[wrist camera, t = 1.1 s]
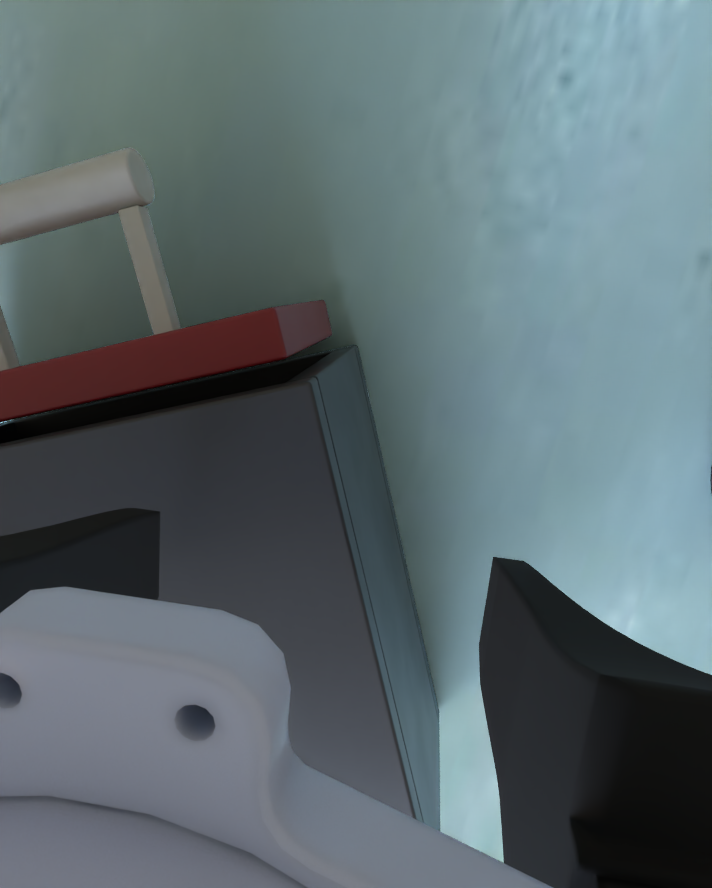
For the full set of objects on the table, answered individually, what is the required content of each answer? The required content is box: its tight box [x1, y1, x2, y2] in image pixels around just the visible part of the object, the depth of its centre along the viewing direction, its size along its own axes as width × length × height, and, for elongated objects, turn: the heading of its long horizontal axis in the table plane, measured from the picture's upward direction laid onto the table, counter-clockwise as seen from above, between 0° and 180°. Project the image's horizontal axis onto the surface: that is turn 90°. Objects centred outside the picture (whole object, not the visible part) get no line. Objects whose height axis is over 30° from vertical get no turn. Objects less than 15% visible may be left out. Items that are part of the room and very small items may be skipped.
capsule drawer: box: [0, 148, 332, 422], centre depth 20 cm, size 18×12×7 cm
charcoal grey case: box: [0, 345, 440, 831], centre depth 21 cm, size 15×14×9 cm
